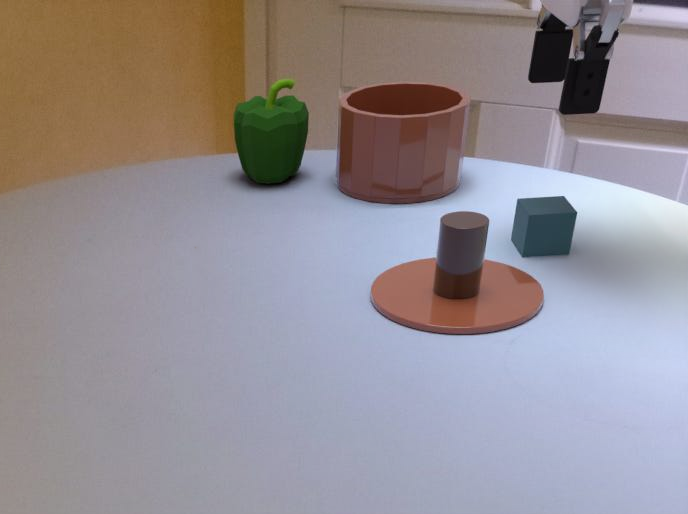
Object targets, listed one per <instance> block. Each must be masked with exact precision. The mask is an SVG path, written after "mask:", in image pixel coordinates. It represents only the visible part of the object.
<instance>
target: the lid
mask: <svg viewBox="0 0 688 514" xmlns="http://www.w3.org/2000/svg"><path fill="white" fill-rule="evenodd" d="M489 226H490V218H489V217H488V216H487V215H485V214H483V213H480V212H475V211H468V210H467V211H466V210H465V211H463V210H461V211H460V210H459V211H452V212H448V213H445V214H444V215H442V216H441V217H440V219H439V227H438V228H439V229H438V238H437V245H436V246H437V248H436V256H435V257H428V258H421V259H416V260H411V261H407V262H403V263H400V264H397V265H394V266H393V267H390V268H388V269H386V270H384V271H383V272H381V273H380V274H379V275H378V276H377V277H376V278H374V280H373V282H372V284H371V286H370V295H369V296H370V301H371V304H372V305H373V307H374V308H375V310H376V311H377V312H379V313H380V314H381V315H382V316H384V317H386V318H387V319H389V320H390V321H393V322H395V323H397V324H400V325H402V326H405V327H409V328H411V329H415V330H420V331H424V332H431V333H438V334H448V335H450V334H451V335H475V334H486V333H487V334H488V333H493V332H498V331H499V332H500V331H502V330H508V329H511V328H513V327H516V326H519V325H521V324H523V323H525V322H528V321H529V320H531V319H532V318H533V317H535V316H536V315H537V314H538V312H539V311H540V310H541V308H542V306H543V303H544V298H545V297H544V296H545V293H544V289H543V287H542V284H541V283H540V282H539V281H538V280H537V279H536V278H535V277H533V276H532V275H531V274H529V273H528V272H526V271H524V270H522V269H521V268H517V267H515V266H513V265H510V264H506V263H503V262H499V261H494V260H489V259H485V254H486V248H487V243H488V242H487V241H488V235H489V234H488V233H489Z"/></svg>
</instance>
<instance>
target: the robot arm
mask: <svg viewBox="0 0 688 514" xmlns="http://www.w3.org/2000/svg"><path fill="white" fill-rule="evenodd" d="M540 3H541V8H540V10H539V13H538V14H537V18H536V24H535V25H536V29H537V30H535V33H534V39H533V45H532V51H531V56H530V63H529V69H528V74H527V80H528V81H529V82H530V83H531V84H545V83H548V84H549V83H562V82H563V83H562V89H561V94H560V100H559V105H558V111H559V113H560V114H561V115H563V116H569V115H590V114H597V113H598V112H599V111H600V108H601V103H602V98H603V94H604V89H605V84H606V79H607V75H608V71H609V66H610V61H611V59H612V58H613V55H614V48H615V43H616V41H617V39H618V38H619V36H620V35H619V34H620V32H619V30H620V29H619V26H620V25H624V24H625V23H626V22H627V21H628V20H629V18H630V16H631V14H632V9H633V3H634V0H540ZM586 30H590V32H589V33H588V35H587V37H586ZM572 43H573V44H572ZM571 48H572V49H573V51H572V52H573V57H570V54H571Z"/></svg>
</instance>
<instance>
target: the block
mask: <svg viewBox="0 0 688 514" xmlns="http://www.w3.org/2000/svg"><path fill="white" fill-rule="evenodd" d="M577 217H578V211H577V210H576V209H575V207H574V206H573V205H572V204H571V203H570V201H569V200H568V199H567V198H566V197H565V196H564V195H558V196H557V195H554V196H540V197H539V196H537V197H523V198H522V197H521V198H517V199H516V205H515V211H514V218H513V224H512V229H511V237H510V241H511V243H512V244H513V246H514V247H515V249H516V251H517V252H518V254H519V255H520V257H521V258H535V257H536V258H537V257H551V256H568V255H570V253H571V247H572V243H573V237H574V231H575V227H576V223H577V222H576V221H577Z"/></svg>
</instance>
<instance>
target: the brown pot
mask: <svg viewBox="0 0 688 514" xmlns="http://www.w3.org/2000/svg"><path fill="white" fill-rule="evenodd" d="M471 100H472V99H471V96H470V95H469V94H468V93H467V92H466V90H462V89H460V88H458V87H455V86H452V85H449V84H442V83H437V82H436V83H435V82H430V81H429V82H428V81H410V80H409V81H391V82H390V81H389V82H380V83H374V84H368V85H362V86H360V87H356V88H354V89H351V90H348V91H345V92H344V94H343V95H342V96H340V97H339V99H338V112H337V136H336V137H337V140H336V143H337V145H336V171H335V177H336V185H337V188H338V189H339V190H340V191H341V192H342V193H344V195H347V196H349V197H351V198H353V199H354V198H355V199H358V200H361V201H366V202H371V203H378V204H379V203H380V204H415V203H423V202H427V201H428V202H429V201H433V200H437V199H440V198H443V197H445V196H448V195H450V194H452V193H453V192H454V191H456V190H457V189H458V188H459V186H460V184H461V183H460V181H461V179H462V176H463V175H462V174H463V166H464V157H465V150H466V149H465V148H466V140H467V132H468V125H469V115H470V106H471Z"/></svg>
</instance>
